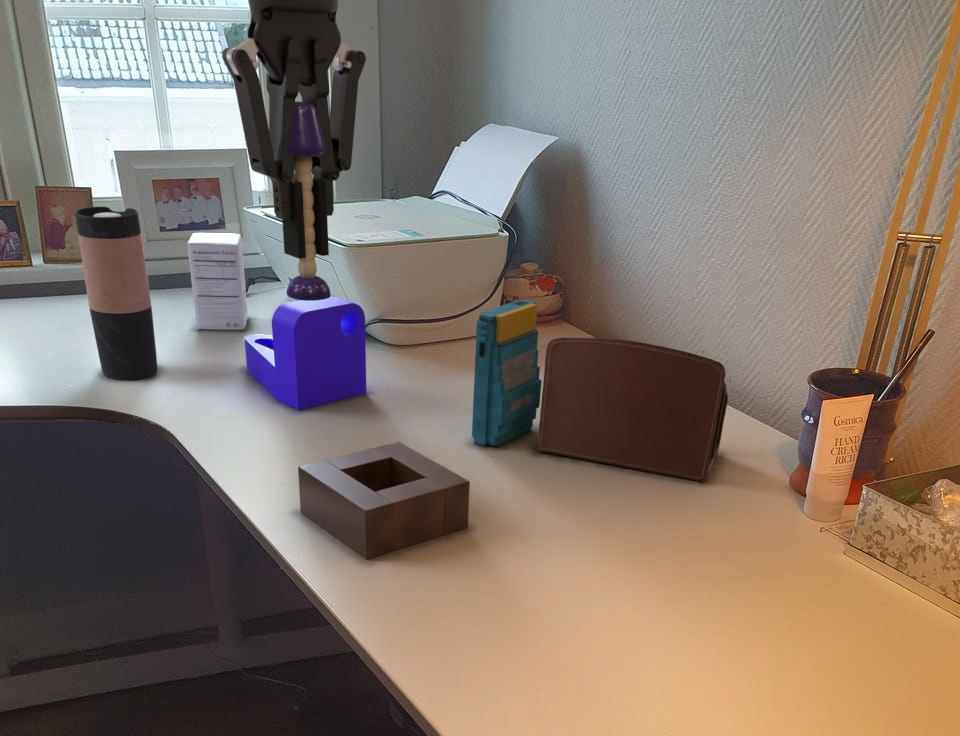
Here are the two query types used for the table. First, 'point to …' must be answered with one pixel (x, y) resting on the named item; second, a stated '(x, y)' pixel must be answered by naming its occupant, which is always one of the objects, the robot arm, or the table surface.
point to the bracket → (311, 353)
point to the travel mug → (118, 291)
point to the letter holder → (632, 406)
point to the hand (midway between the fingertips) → (306, 253)
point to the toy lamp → (307, 198)
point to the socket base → (383, 498)
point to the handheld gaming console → (505, 373)
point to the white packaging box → (218, 281)
